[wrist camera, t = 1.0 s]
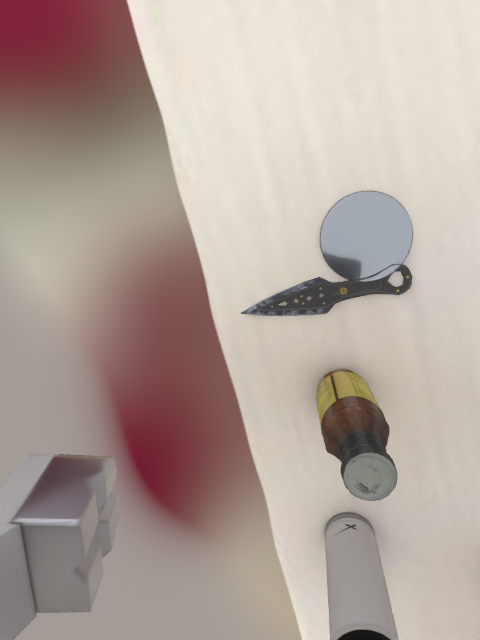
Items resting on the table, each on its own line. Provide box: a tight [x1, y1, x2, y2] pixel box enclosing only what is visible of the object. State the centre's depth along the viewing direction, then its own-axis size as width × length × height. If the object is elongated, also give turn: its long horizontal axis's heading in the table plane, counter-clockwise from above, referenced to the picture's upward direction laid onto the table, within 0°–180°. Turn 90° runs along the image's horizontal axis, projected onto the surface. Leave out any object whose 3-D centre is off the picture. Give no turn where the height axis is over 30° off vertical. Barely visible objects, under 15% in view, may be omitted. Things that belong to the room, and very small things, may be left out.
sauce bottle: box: [317, 370, 397, 501], centre depth 41 cm, size 7×6×20 cm
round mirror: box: [320, 191, 413, 282], centre depth 47 cm, size 10×10×1 cm
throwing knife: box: [241, 264, 412, 316], centre depth 49 cm, size 4×20×1 cm, turn 104°
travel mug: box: [325, 513, 399, 640], centre depth 44 cm, size 6×7×20 cm
